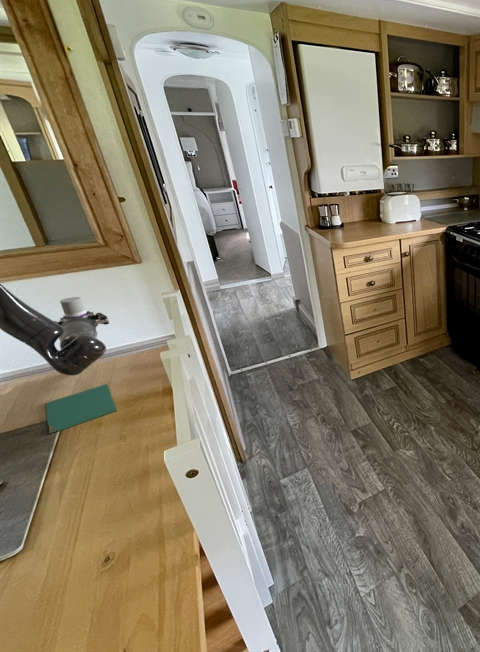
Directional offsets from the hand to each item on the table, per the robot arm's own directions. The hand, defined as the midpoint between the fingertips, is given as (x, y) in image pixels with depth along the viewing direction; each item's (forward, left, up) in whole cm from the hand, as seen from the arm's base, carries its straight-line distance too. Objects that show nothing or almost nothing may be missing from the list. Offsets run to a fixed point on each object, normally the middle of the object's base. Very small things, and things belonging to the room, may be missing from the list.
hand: (77, 316), depth 119 cm
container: (-1, -2, -9) cm, 9 cm away
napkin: (-15, -23, -17) cm, 33 cm away
